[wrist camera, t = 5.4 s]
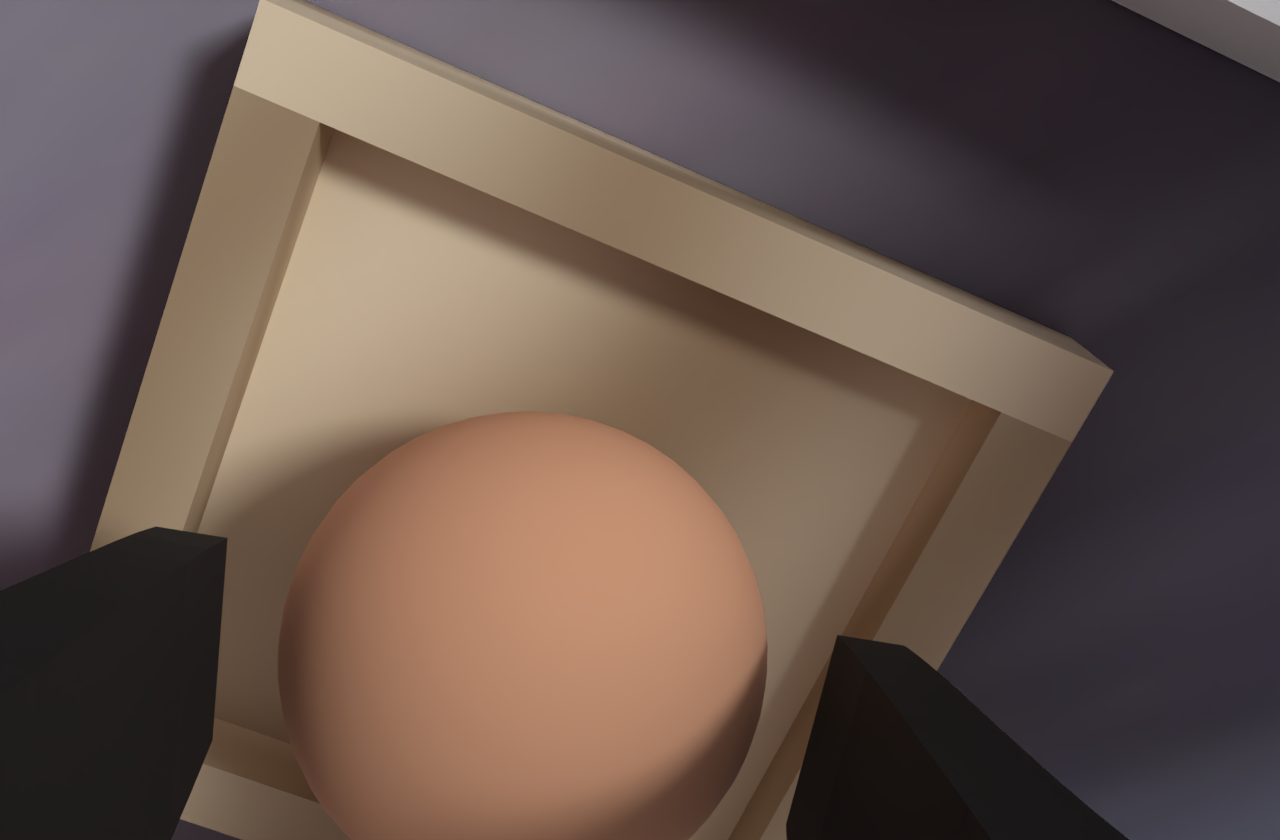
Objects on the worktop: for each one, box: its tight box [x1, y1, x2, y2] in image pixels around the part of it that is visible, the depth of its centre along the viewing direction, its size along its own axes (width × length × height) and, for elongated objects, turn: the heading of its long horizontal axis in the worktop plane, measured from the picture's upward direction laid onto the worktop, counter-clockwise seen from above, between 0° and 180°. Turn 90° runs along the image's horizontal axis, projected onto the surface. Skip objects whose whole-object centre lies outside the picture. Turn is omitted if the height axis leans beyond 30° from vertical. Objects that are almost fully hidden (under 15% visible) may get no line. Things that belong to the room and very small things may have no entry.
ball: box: [278, 411, 768, 840], centre depth 11 cm, size 4×4×4 cm
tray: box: [90, 0, 1114, 840], centre depth 13 cm, size 9×9×1 cm
